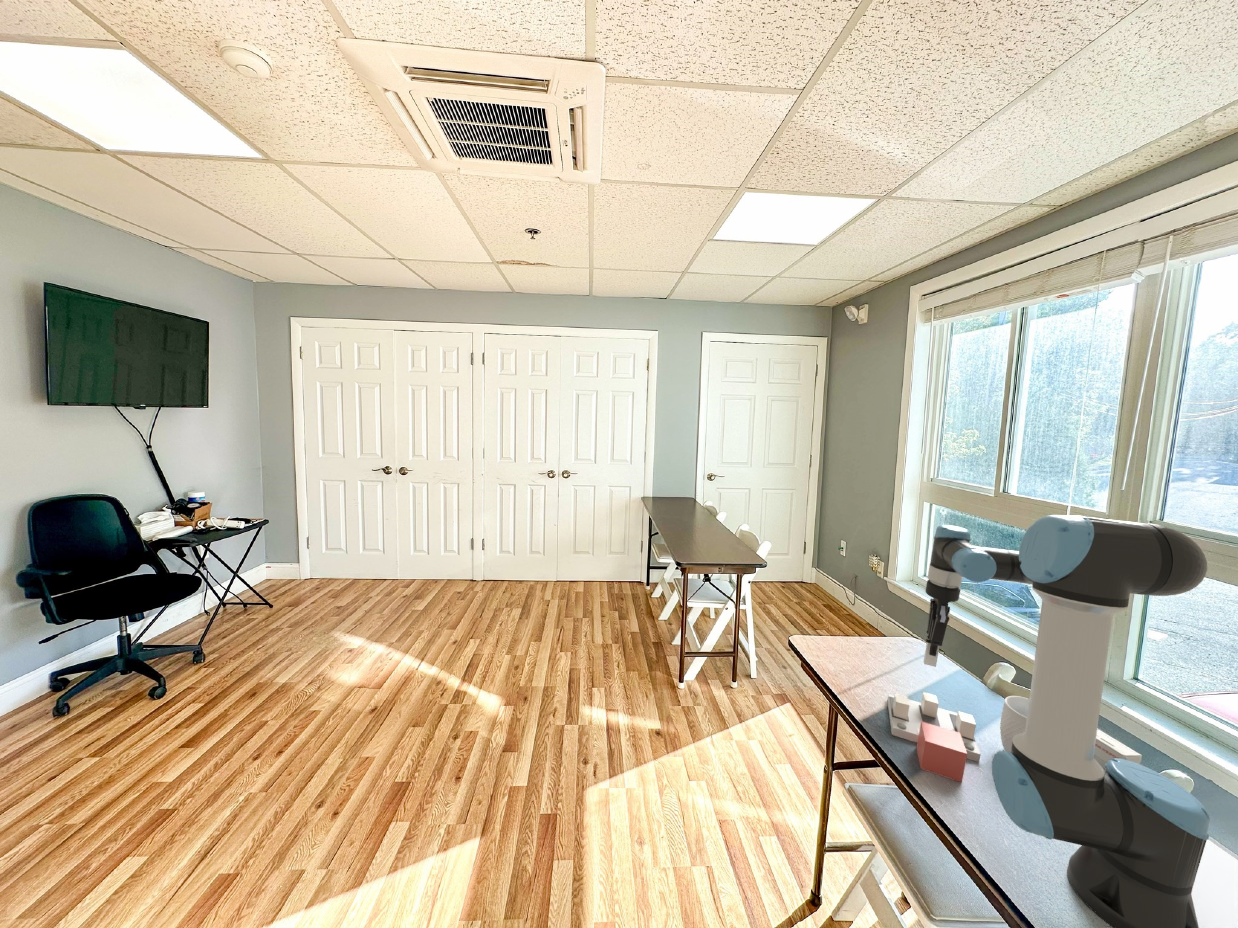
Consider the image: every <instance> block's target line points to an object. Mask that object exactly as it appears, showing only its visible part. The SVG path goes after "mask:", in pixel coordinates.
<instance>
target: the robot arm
mask: <svg viewBox="0 0 1238 928" xmlns="http://www.w3.org/2000/svg"><path fill="white" fill-rule="evenodd" d="M1020 541H1021V542H1020V545H1019V549H1018V550H1010V549H1004V548H997V547H996V548H995V547H988V546H979V545H974V544H972V543H970V542H971V532H970V530H969V529H967V528H964V527H962V526H959V525H958V526H957V525H951V524H939V525H938V526H936V528H935V534H934V536H933V543H932V551H931V557H930V563H929V566H928V567H929V568H928V574H927V578H928V579H927V581H926V584H925V585H926V586H925V594H926V595H927V596H929V597H931V598H930V599H929V601H930V602H929V610H928V611H929V612H928V621H927V629H926V634H927V635H926V636H927V637H926V638H927V639H925V643H926V646H925V649H924V650H925V651H924V656H923V657H924V658H923V664H924V665H927V666H931V667H933V668H936V667H937V663H938V662H937V661H938V656H939V651H940V647H942V646H943V641H944V639H945V635H946V630H947V627H948V623H949V621H950V616H949V614H950V611H951V606H949V603H955V602H958V601H959V599H960V594H961V585H962V583H963V579H966V580H968V581H971V582H973V583H982V582H986V581H989V580H995V581H1002V582H1012V583H1019V584H1026V585H1031V586H1032V587H1031V588H1032V590H1033V591H1034V592H1035V593H1036V594H1037V595H1038V596H1039V598H1040V599H1041V607H1040V608H1041V609H1040V614H1039V615H1040V616H1039V622H1038V630H1037V631H1038V632H1037V636H1036V637H1037V638H1036V644H1035V645H1036V646H1035V652H1034V653H1035V654H1034V662H1033V668H1032V669H1033V670H1032V677H1031V684H1030V693H1029V698H1028V699H1029V706H1028V714H1027V722H1026V729H1025V732H1023V733H1020V734H1017V735H1015V736H1014V737H1013V741H1012V747H1011V752H1009V751H1005V750H1004V749H1003V750H998V751H997V752H996V753H994V754H993V756H992V761H991V772H992V773H991V774H992V779H993V784H994V787H995V791H996V794H997V797H998V799H999V801H1000V804H1001V806H1002V808H1003V810H1004V812H1005V813H1006V814H1007V816H1008V817H1009V819H1010V820H1011V821H1012V823H1014V824H1015V826H1017V827H1018V828H1019V829H1020V830H1022V831H1025V833H1030V834H1034V835H1036V836H1040V837H1044V838H1045V839H1047V840H1052V839H1053V840H1057V841H1060V842H1066V843H1071V844H1075V845H1079V847H1078V848H1077V850H1075V851H1074V853H1073V854H1071V856H1070V857H1069V862H1068V864H1067V869H1066V874H1067V875H1066V876H1067V879H1068V882H1069V884H1070V886H1071V887H1072V888H1073V890H1074V892H1075V893H1076V894H1077V895H1078V897H1079V898H1080V899H1081V900H1082V902H1084V903H1085V905H1087V907H1088V908H1089V909H1090V910H1092V912H1094V913H1095V914H1096V915H1097V916H1099V917H1100V918H1101V919H1102V920H1103V921H1105V923H1107V924H1109V925H1110V926H1111V927H1113V928H1199V922H1198V917H1197V915H1196V909H1195V905H1194V904H1195V903H1194V901H1193V896H1192V892H1193V889H1194V884H1195V880H1196V877H1197V874H1198V870H1199V866H1200V864H1201V860H1202V856H1203V853H1204V851H1205V848H1206V843H1207V840H1209V837H1210V835H1209V833H1208V831H1209V826H1210V822H1211V821H1210V820H1211V818H1210V814H1209V812H1208V810H1207V808H1206V807H1205V806H1204V805H1203V803H1201V801H1200V800H1199V799H1198V798H1197V797H1195V796H1194V794H1192V793H1191V792H1189V791H1188V790H1187V789H1185V788H1184V787H1182V786H1181V785H1180V784H1178V783H1176V782H1175V781H1173V780H1171V779H1170V778H1168V777H1167V776H1165V775H1163V774H1161V773H1159V772H1158V771H1155V770H1153V769H1151V768H1149V767H1147V766H1145V765H1142V764H1141V763H1140V764H1137V763H1134V762H1131V761H1128V760H1124V759H1119V758H1113V759H1110V760H1109V761H1108V762H1107V763H1105V768H1106V769H1105V770H1104V769H1103V768H1102V767H1101V766H1100V764H1099V763H1098V762H1097V761H1096V760H1095V759H1094V749H1095V742H1096V734H1097V729H1098V725H1099V718H1100V712H1101V704H1102V696H1103V688H1104V682H1105V674H1106V667H1107V661H1108V651H1109V646H1110V645H1109V644H1110V637H1111V630H1112V623H1113V617H1114V616H1115V615H1116V614H1118V613H1121V612H1123V611H1125V610H1128V608H1129V601H1130V597H1131V596H1130V595H1131V594H1134V595H1142V596H1143V595H1145V596H1152V597H1153V596H1154V597H1155V596H1156V597H1168V596H1178V595H1182V594H1184V593H1185V594H1186V593H1187V592H1190V591H1192V590H1194V589H1195V588H1198V586H1199V585H1200V584H1201V583H1202V582H1203V580H1204V579H1205V577H1206V575H1207V572H1208V561H1207V557H1206V554H1205V553H1204V552H1203V551H1204V550H1202V548H1201V547H1200V546H1199V544H1198V543H1197V542H1195V541H1194V540H1193V539H1192V538H1191V537H1189V536H1187V535H1186V534H1184V533H1182V532H1180V531H1179V530H1176V529H1174V528H1171V527H1168V526H1165V525H1160V524H1156V523H1151V522H1150V523H1149V522H1135V521H1129V520H1127V521H1126V520H1117V519H1109V518H1099V517H1093V516H1092V517H1091V516H1083V515H1080V514H1079V515H1075V514H1074V515H1072V514H1071V515H1069V514H1068V515H1067V514H1066V515H1065V514H1051V515H1046V516H1042V517H1041V518H1038V519H1037V520H1036V521H1035V522H1034V523H1032V524H1030V526H1029V527H1028V528H1027V529H1026V530H1025V533H1024V534H1023V537H1022V539H1021V540H1020Z"/></svg>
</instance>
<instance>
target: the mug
mask: <svg viewBox="0 0 1238 928" xmlns="http://www.w3.org/2000/svg"><path fill="white" fill-rule="evenodd" d="M1003 701H1004V702H1003V707H1002V711H1001V716H1000V717H1001V718H1000V724H999V725H1000V726H999V730H1000V732H999V734H1000V741H1001V743H1002V747H1003V750H1005V751H1009V752H1011V747H1012V741H1013V737H1014V736H1015V735H1017V734H1020V733H1023V732H1025V729H1026V722H1027V714H1028V706H1029V698H1027V697H1024V696H1019V695H1009V696H1007V697H1005V698H1004V700H1003Z"/></svg>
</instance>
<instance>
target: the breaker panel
mask: <svg viewBox="0 0 1238 928" xmlns="http://www.w3.org/2000/svg"><path fill="white" fill-rule="evenodd" d="M894 695H895V694H891V693H888V694H887V707H888V714H889V722H890V723H889V724H890V733H891V736H895V737H898V738H902V739H905V740H908V741H911V742H914V743H917V742H918V736H919V731H920V725H921V721H922V722H925V723H928V724H932V725H935V726H939V727H942V728H945V729H949V730H952V731H955V732H957V729H956V726H955V725H956V720H957V714H958V712H956V711H951V710H947V709H945V708H941V707H938V711H937V716H936V718H935V717H931V716H928V715H924V714H923V713H922V709H921V701H920V702H919V701H916V700H912V699H909V698H908V700H909V705H910V706H909V712H908V718H907V720H906V719H903V718H900V717H896V716H894V714H893V701H894ZM961 737H962V740H963V743H964V746H965V749H966V752H967V758H966V759H968V760H971V761H974V762H977V763H980V760H981V756H982V755H981V751H980V749H979V746H978V744H977V741H976V739H975V737H974V739H970V738H966V737H963V736H961Z"/></svg>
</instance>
